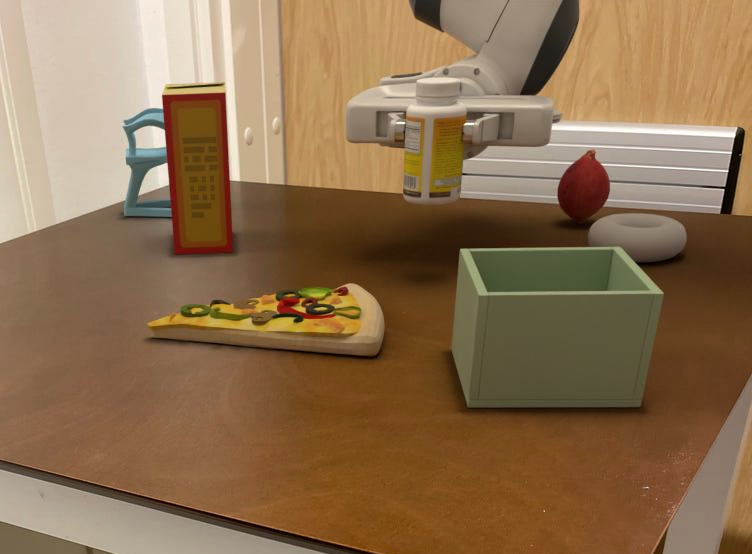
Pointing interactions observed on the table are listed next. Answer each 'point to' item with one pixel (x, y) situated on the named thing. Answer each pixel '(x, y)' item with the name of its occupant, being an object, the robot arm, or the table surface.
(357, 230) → the table surface
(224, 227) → the baking soda box
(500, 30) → the robot arm
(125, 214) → the chair
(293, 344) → the pizza slice
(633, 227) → the donut
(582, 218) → the onion
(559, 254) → the trash bin
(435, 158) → the supplement bottle
